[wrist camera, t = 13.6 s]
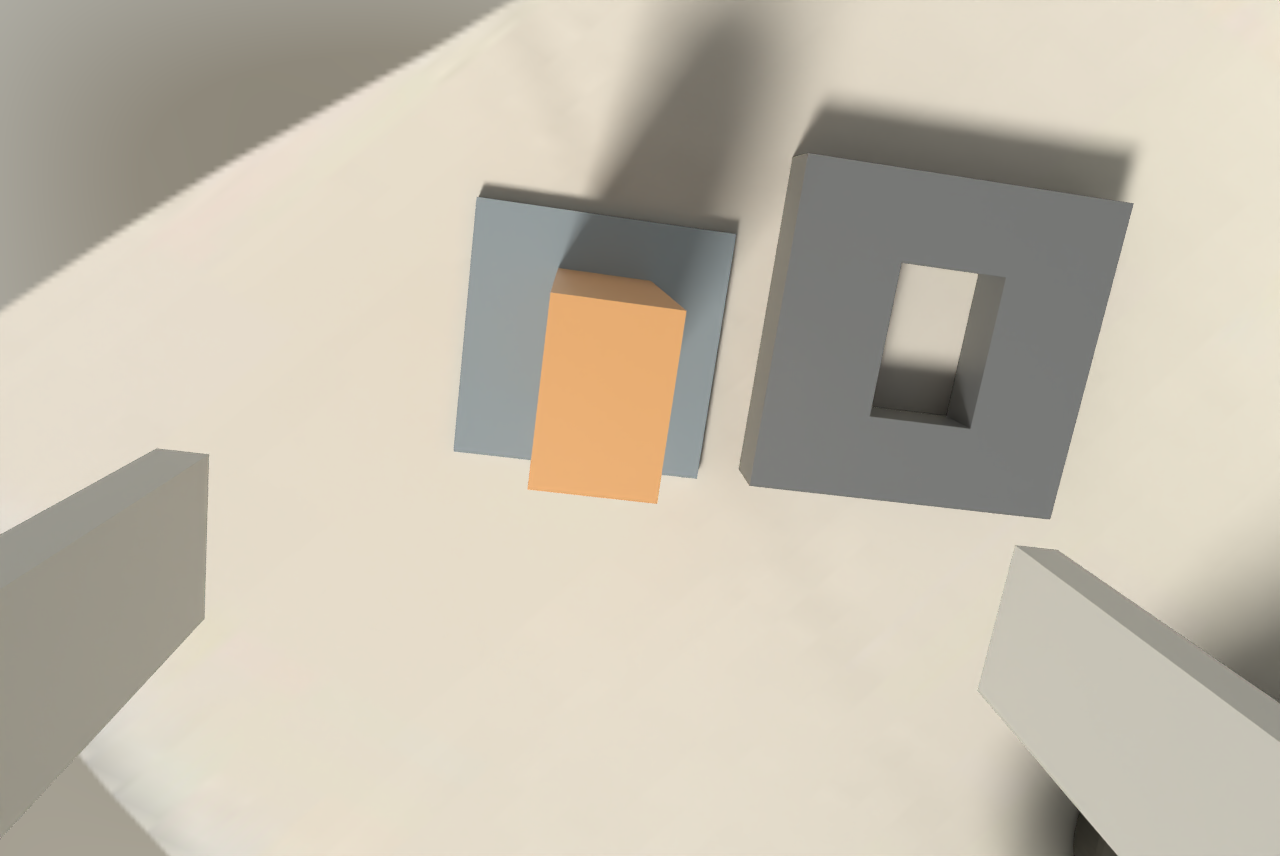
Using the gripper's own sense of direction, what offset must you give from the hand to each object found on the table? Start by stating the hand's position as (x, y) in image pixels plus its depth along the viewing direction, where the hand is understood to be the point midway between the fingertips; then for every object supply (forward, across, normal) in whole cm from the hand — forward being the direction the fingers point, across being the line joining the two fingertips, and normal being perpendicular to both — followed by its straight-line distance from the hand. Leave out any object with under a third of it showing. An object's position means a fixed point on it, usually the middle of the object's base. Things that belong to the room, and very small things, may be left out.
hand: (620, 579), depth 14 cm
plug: (+24, 0, 0) cm, 24 cm away
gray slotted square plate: (+25, -14, -2) cm, 29 cm away
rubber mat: (+25, 0, 0) cm, 25 cm away
